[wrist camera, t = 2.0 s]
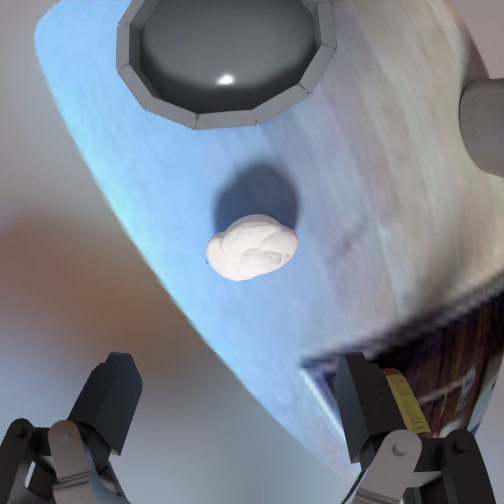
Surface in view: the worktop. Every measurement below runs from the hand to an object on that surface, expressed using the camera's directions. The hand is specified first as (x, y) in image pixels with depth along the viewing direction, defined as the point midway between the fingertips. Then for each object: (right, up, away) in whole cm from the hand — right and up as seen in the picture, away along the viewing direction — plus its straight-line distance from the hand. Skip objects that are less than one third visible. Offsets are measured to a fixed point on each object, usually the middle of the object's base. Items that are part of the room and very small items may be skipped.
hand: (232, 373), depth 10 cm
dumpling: (+1, +6, +13) cm, 14 cm away
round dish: (-1, +20, +6) cm, 21 cm away
